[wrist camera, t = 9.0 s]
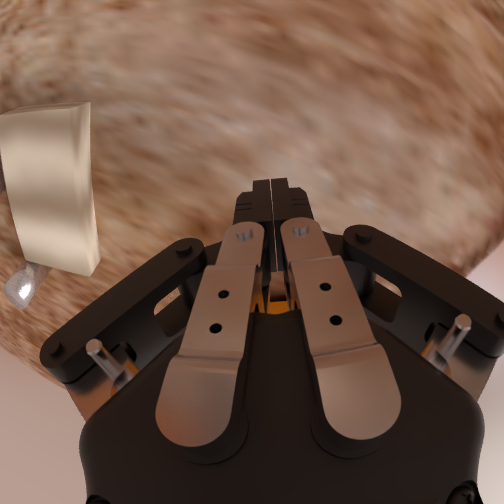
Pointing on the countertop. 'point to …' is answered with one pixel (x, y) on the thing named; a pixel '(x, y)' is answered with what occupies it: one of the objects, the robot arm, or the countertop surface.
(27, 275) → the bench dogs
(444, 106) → the countertop surface
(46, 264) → the cream curved panel
